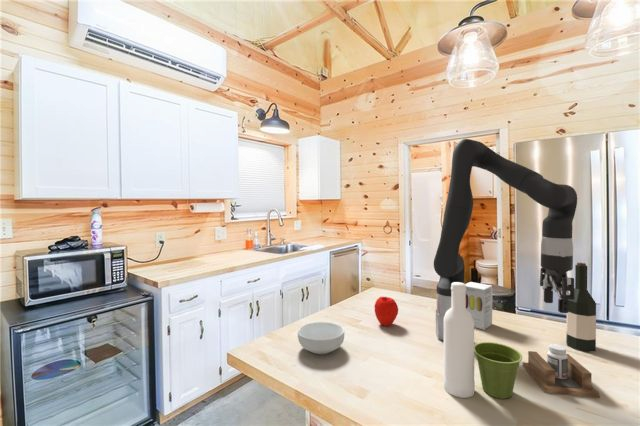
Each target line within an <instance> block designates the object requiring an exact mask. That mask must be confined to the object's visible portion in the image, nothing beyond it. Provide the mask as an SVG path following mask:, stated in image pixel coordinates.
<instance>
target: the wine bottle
mask: <svg viewBox="0 0 640 426" xmlns="http://www.w3.org/2000/svg"><path fill="white" fill-rule="evenodd" d="M574 268H575V271H574V272H575V274H574V275H575V276H574V277H575V278H574V300H569V308H568V313H566V338H565V339H566V340H565V341H566V346H567V347H568V348H571V349H573V350H576V351H582V352H585V353H592V352H596V351H597V350H596V348H597V347H596V345H597V343H596V341H597V340H596V339H597V303H596V301H595V299H594V298H593V297H592V295H591V294H590V293H591V292H589V291H588V265H587V264H586V263H585V262H576V264H575V267H574Z"/></svg>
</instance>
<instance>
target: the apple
mask: <svg viewBox="0 0 640 426" xmlns="http://www.w3.org/2000/svg"><path fill="white" fill-rule="evenodd" d="M374 313H375V316H376V319H377V321H378V322H379V324H380V325H381V326H384V327H390V326H391V325H392V324H393V323H394V322H395V320H396V319H397V317H398V314H399V306H398V304H397V302H396V300H395V299H394V298H391V297H387V296H379V297H378V298H377V299H376V301H375V303H374Z"/></svg>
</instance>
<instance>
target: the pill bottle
mask: <svg viewBox="0 0 640 426" xmlns="http://www.w3.org/2000/svg"><path fill="white" fill-rule="evenodd" d="M546 353H547V354H546V355H547V357H546V358H547V360H546V362H547V363H548V364H549V365H550V366H551V367H552V368H553V369H554V370H555V378H559V379H566V378H567V377H568V357H567V355H566V354H567V349H566V347H565V346H563V345H561V344H555V343H550V344H549V345H548V351H547V352H546Z"/></svg>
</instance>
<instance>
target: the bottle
mask: <svg viewBox="0 0 640 426" xmlns="http://www.w3.org/2000/svg"><path fill="white" fill-rule="evenodd" d="M465 284H466V283H465V282H464V283H461V282H453V283H452V284H451V308H450V309H449V310H448V311H447V312H446V313H445V316H444V340H443V378H442V379H443V388H444V391H446V392H447V393H448V394H450V395H451V396H454V397H456V398H461V399H468V398H471V397H473V396H474V394H475V386H476V385H475V352H474V345H475V327H474V321H473V318H472V315H471V314H470V313H469V312H468V311H467V310H466V285H465Z"/></svg>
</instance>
